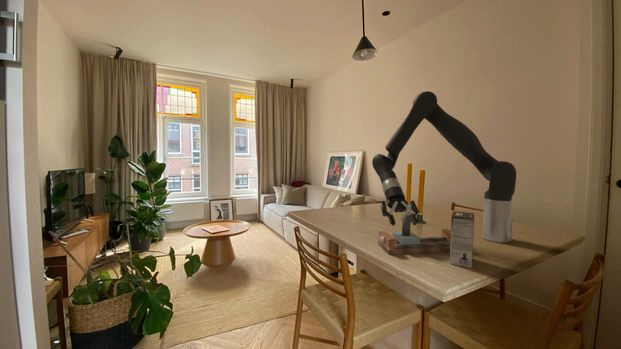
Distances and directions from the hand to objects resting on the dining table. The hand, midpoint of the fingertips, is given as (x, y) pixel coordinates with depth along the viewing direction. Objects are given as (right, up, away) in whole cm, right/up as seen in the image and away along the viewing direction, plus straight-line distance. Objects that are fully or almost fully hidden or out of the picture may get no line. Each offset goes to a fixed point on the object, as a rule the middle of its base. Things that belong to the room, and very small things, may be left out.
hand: (404, 224), depth 95 cm
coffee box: (+14, -10, -12) cm, 21 cm away
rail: (+6, -9, 0) cm, 11 cm away
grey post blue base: (0, -6, -1) cm, 6 cm away
